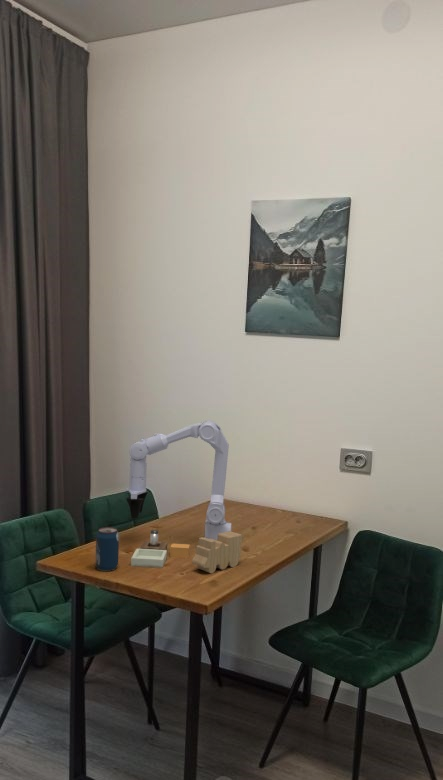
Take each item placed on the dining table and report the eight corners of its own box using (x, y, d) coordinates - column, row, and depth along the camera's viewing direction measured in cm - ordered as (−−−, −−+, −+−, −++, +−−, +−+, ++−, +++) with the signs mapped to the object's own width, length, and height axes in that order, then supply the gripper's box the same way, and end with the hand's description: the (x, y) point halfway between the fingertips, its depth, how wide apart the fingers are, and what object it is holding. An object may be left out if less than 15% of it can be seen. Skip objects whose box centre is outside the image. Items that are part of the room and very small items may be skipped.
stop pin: (158, 551, 217) (158, 530, 216) (157, 553, 214) (157, 532, 214) (150, 550, 217) (151, 529, 217) (149, 553, 214) (150, 531, 214)
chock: (189, 554, 215) (189, 544, 215) (188, 558, 211) (188, 548, 211) (171, 553, 215) (171, 543, 215) (170, 557, 211) (170, 547, 211)
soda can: (121, 566, 200) (123, 528, 200) (111, 573, 194) (112, 533, 193) (102, 563, 202) (103, 525, 202) (90, 569, 196) (92, 531, 195)
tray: (166, 557, 210) (167, 550, 210) (162, 567, 200) (163, 559, 200) (136, 556, 211) (136, 548, 211) (130, 566, 201) (131, 558, 201)
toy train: (191, 571, 199) (192, 539, 198) (230, 560, 211) (231, 530, 210) (203, 576, 195) (205, 543, 194) (242, 564, 207) (243, 534, 206)
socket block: (167, 549, 219) (167, 542, 219) (164, 556, 211) (164, 549, 211) (143, 548, 220) (144, 540, 220) (139, 555, 212) (140, 547, 212)
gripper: (130, 472, 231) (129, 509, 231) (122, 479, 216) (121, 519, 217) (149, 473, 230) (148, 510, 231) (143, 480, 216) (141, 520, 217)
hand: (136, 515), depth 224 cm, fingers open, 7 cm apart
